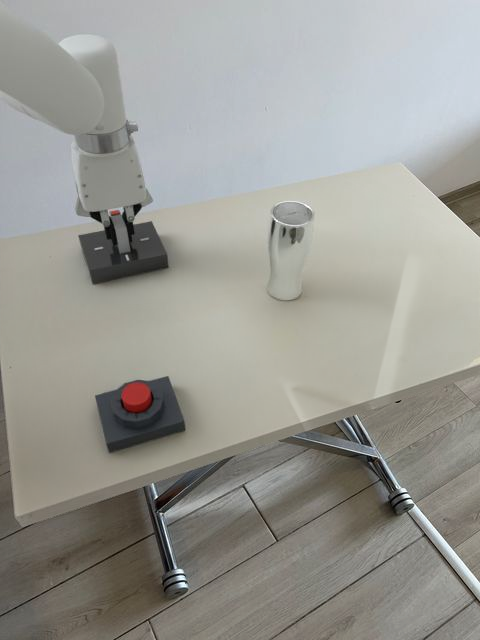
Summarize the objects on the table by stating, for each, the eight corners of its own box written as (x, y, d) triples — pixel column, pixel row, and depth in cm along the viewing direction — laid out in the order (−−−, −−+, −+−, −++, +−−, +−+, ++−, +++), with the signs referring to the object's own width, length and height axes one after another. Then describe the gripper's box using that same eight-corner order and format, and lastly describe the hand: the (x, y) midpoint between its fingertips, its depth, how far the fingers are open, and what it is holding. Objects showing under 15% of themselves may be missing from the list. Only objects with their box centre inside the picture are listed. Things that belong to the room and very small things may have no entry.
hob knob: (130, 251, 89) (126, 225, 85) (120, 253, 89) (115, 227, 85) (123, 234, 92) (119, 208, 88) (113, 236, 92) (108, 210, 88)
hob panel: (92, 284, 88) (88, 269, 86) (81, 249, 94) (77, 234, 92) (168, 267, 92) (167, 253, 89) (153, 234, 98) (151, 220, 95)
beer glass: (258, 296, 88) (262, 220, 77) (271, 271, 92) (277, 195, 81) (298, 307, 87) (309, 231, 76) (309, 281, 91) (321, 205, 80)
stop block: (109, 453, 67) (103, 436, 64) (97, 404, 72) (92, 386, 69) (185, 430, 70) (183, 413, 67) (169, 385, 75) (167, 367, 72)
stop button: (126, 416, 67) (124, 408, 66) (120, 394, 69) (118, 386, 68) (154, 408, 68) (153, 400, 67) (148, 387, 70) (146, 379, 69)
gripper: (149, 116, 81) (160, 218, 94) (40, 130, 76) (69, 236, 90) (162, 139, 76) (172, 243, 90) (48, 155, 72) (77, 262, 85)
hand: (121, 238), depth 90 cm, fingers closed on hob knob, 2 cm apart
